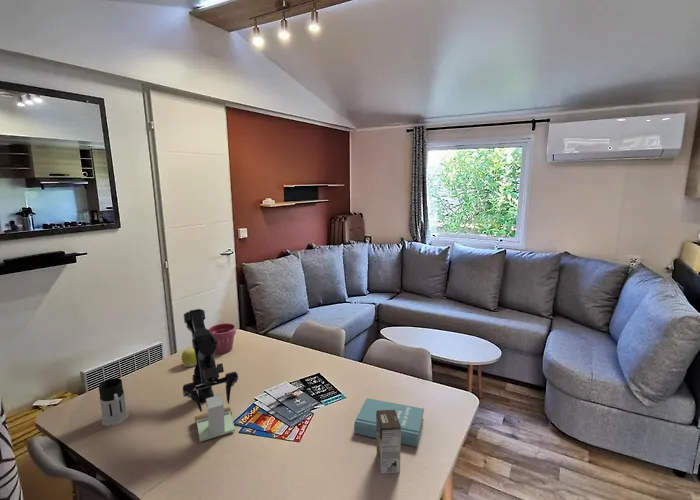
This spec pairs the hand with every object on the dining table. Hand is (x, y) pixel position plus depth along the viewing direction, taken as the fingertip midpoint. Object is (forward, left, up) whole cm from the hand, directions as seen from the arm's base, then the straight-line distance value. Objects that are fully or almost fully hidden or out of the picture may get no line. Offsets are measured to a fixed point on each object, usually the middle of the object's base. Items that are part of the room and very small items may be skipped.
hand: (215, 407), depth 130 cm
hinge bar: (-10, 0, -12) cm, 16 cm away
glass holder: (-27, -33, -12) cm, 45 cm away
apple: (-62, -4, -12) cm, 64 cm away
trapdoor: (-4, 0, -10) cm, 11 cm away
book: (+25, +57, -12) cm, 64 cm away
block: (-2, 0, -10) cm, 10 cm away
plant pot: (-71, +13, -12) cm, 73 cm away
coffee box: (+40, +47, -12) cm, 63 cm away
